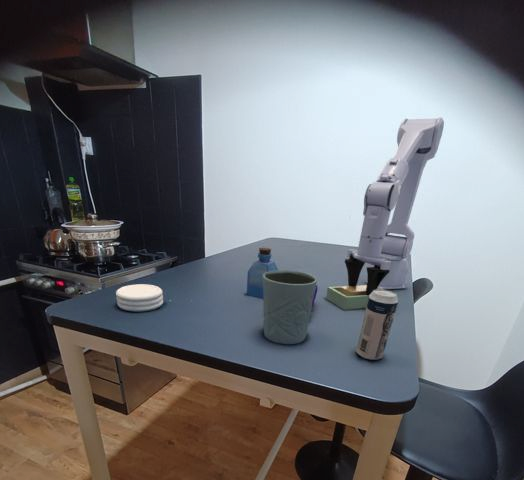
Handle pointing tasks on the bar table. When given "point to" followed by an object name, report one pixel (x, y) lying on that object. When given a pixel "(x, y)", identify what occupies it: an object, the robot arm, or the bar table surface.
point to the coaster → (139, 297)
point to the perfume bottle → (259, 273)
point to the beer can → (377, 324)
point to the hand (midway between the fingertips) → (360, 290)
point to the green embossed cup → (287, 305)
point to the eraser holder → (347, 299)
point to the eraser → (354, 290)
